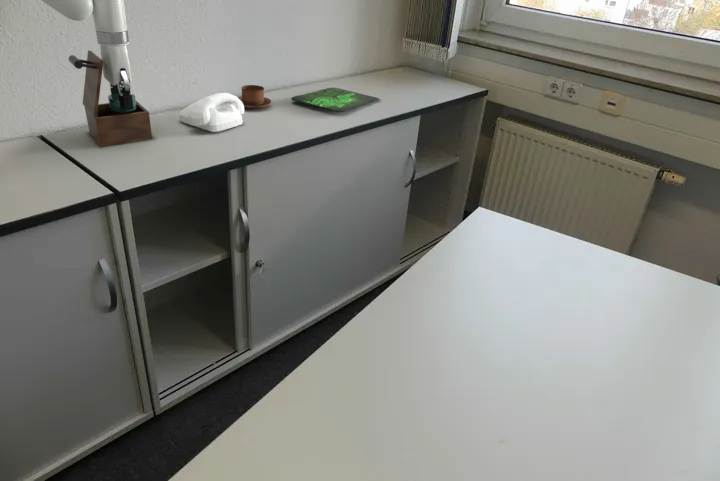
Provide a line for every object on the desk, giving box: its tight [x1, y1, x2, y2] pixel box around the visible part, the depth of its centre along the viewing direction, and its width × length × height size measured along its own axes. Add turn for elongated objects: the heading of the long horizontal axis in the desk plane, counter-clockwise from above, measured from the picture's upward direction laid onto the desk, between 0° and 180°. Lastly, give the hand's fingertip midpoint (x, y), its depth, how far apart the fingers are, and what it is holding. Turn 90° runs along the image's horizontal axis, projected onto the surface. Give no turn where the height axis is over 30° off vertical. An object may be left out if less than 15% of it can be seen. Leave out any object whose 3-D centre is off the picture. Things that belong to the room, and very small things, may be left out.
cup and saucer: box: [237, 84, 272, 110], centre depth 180 cm, size 12×12×6 cm
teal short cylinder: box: [107, 93, 137, 112], centre depth 147 cm, size 7×7×3 cm
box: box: [83, 100, 153, 148], centre depth 149 cm, size 14×12×8 cm
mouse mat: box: [290, 87, 381, 113], centre depth 192 cm, size 27×22×1 cm
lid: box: [68, 49, 103, 117], centre depth 139 cm, size 14×12×6 cm
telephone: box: [178, 92, 245, 133], centre depth 163 cm, size 16×20×9 cm
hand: (122, 105), depth 148 cm, fingers closed on teal short cylinder, 6 cm apart
